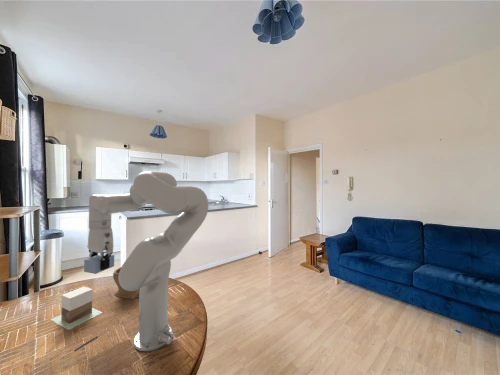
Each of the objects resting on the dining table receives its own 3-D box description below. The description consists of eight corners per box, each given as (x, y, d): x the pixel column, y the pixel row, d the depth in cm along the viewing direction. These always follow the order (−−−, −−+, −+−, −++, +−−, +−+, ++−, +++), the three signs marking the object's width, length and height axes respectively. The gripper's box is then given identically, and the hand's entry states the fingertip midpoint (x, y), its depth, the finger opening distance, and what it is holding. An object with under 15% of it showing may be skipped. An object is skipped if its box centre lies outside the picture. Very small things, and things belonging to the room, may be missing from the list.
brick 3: (114, 266, 88) (114, 254, 88) (95, 273, 80) (95, 261, 80) (103, 264, 89) (103, 253, 89) (84, 271, 81) (84, 259, 81)
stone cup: (107, 299, 100) (107, 269, 100) (128, 288, 111) (128, 260, 111) (131, 305, 96) (131, 273, 95) (150, 292, 107) (150, 264, 107)
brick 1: (92, 300, 88) (92, 289, 88) (70, 311, 81) (70, 298, 81) (84, 297, 91) (84, 286, 91) (61, 307, 83) (61, 295, 83)
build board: (102, 315, 88) (102, 312, 88) (68, 333, 77) (68, 330, 77) (84, 306, 94) (84, 304, 94) (50, 322, 83) (50, 319, 83)
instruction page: (98, 337, 75) (98, 337, 75) (75, 351, 69) (75, 351, 69) (84, 330, 79) (84, 329, 79) (61, 342, 73) (61, 342, 73)
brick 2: (91, 312, 88) (92, 300, 88) (69, 323, 81) (69, 311, 81) (84, 308, 91) (84, 297, 91) (61, 319, 83) (61, 307, 83)
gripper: (122, 224, 84) (121, 268, 84) (97, 220, 91) (97, 260, 92) (103, 228, 77) (102, 275, 77) (78, 223, 85) (77, 266, 85)
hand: (99, 266), depth 84 cm, fingers closed on brick 3, 6 cm apart
